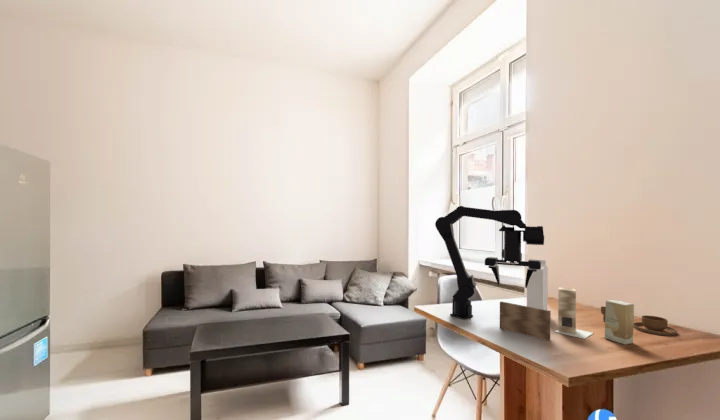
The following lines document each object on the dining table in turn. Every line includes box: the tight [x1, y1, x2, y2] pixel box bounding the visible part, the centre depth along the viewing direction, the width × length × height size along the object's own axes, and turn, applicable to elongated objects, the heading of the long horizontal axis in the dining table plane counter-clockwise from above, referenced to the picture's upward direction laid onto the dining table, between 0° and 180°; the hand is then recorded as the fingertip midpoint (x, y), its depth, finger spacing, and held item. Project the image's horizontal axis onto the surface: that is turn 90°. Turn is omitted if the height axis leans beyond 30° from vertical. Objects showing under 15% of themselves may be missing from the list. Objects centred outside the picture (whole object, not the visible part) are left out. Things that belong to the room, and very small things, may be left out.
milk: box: [526, 258, 549, 310], centre depth 140 cm, size 6×6×22 cm
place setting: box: [600, 306, 678, 337], centre depth 128 cm, size 18×20×6 cm
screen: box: [499, 301, 552, 342], centre depth 117 cm, size 16×1×9 cm, turn 41°
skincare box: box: [604, 299, 635, 345], centre depth 112 cm, size 6×4×12 cm
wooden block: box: [557, 286, 577, 334], centre depth 121 cm, size 5×5×14 cm
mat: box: [554, 328, 594, 340], centre depth 119 cm, size 9×9×1 cm
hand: (512, 286), depth 131 cm, fingers open, 9 cm apart
